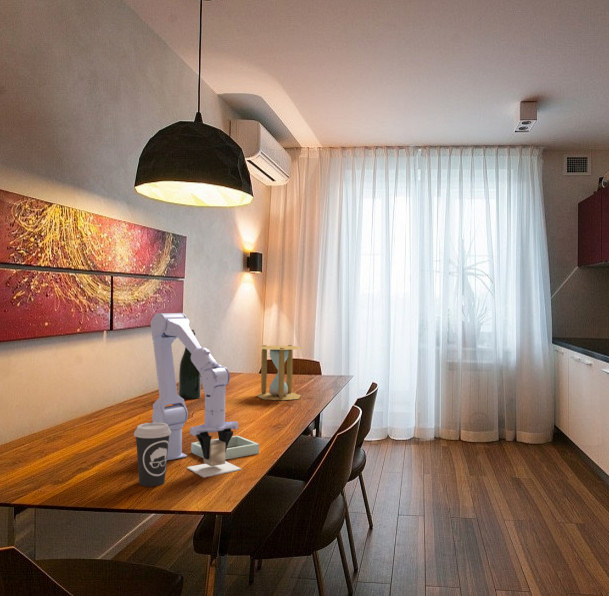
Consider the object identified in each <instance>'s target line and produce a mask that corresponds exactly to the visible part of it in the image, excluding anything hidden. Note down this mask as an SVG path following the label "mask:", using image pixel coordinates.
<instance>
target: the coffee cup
mask: <svg viewBox="0 0 609 596" xmlns="http://www.w3.org/2000/svg"><path fill="white" fill-rule="evenodd" d="M136 427H137V428H136V429H135V431H134V433H133V435H134V437H135V440H136V441H135V443H136V456H137V470H138V471H137V472H138V483H139V484H138V485H140V486H142V487H157V486H158V487H159V486H162V485H163V484H165V480H166V472H167V462H168V460H167V453H168V444H169V435H170V434H171V430H170V428H169V426H168V424H165V423H153V422H145V423H141V424H138V425H137V426H136Z"/></svg>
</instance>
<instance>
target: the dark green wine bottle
mask: <svg viewBox="0 0 609 596" xmlns="http://www.w3.org/2000/svg"><path fill="white" fill-rule="evenodd" d="M191 331H192V332H193V334H194V336H195V337H196V332H195V329H191ZM184 347H185V346H184ZM179 362H180V363H179V373H178V395H179V396H180V397H182V398H183V399H184V400H196V399H197V400H198V399H199V398H201V393H202V390H201V389H202V387H201V386H202V383H201V377H202V375H201V374H200V372H199V371H198V370H197V368H196V367H195V365H194V364H193V362H192V361H191V353H190V351H189V350H188V349H187V348H186V347H185V348H184V351H183V353H182V357H181V359H180V361H179Z"/></svg>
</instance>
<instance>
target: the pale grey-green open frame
mask: <svg viewBox="0 0 609 596" xmlns="http://www.w3.org/2000/svg"><path fill="white" fill-rule="evenodd" d="M217 439H218V440H219V438H214V439H212V440H217ZM190 443H191V447H190V448H191V450H190V453H191V454H194V455H195V456H198V457H199V458H201V459H203V460H204V457H203V452H202V448H201V445H200V443H199V441H195V442H190ZM259 454H260V443H257V442H255V441H252V440H250V439H247V438H245V437H242V436H240V435H233V436H232V437H231V439H230V441H229V443H228V446H227V449H226V453H225V461H226V460H230V459H231V460H232V459H236V458H237V459H238V458H241V457H246V456H252V455H253V456H254V455H259Z"/></svg>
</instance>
